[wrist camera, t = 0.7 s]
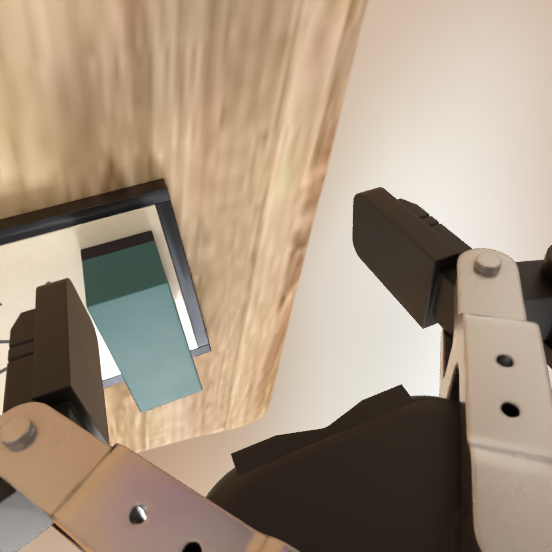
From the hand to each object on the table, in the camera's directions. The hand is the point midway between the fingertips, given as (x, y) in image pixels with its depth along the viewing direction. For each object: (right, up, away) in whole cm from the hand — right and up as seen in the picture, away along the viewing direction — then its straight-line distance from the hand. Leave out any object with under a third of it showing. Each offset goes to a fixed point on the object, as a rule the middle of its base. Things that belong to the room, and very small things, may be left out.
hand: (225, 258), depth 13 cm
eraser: (-9, -2, +21) cm, 22 cm away
